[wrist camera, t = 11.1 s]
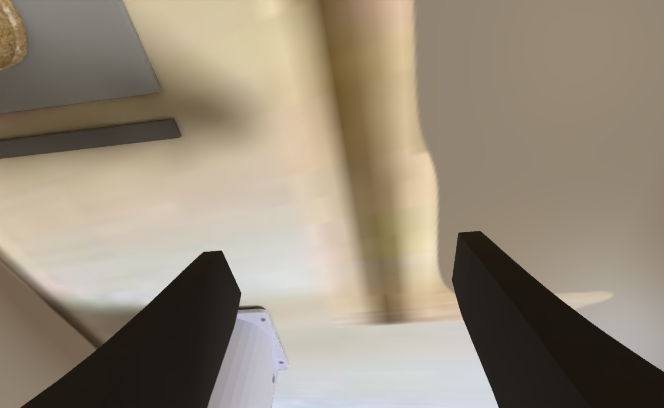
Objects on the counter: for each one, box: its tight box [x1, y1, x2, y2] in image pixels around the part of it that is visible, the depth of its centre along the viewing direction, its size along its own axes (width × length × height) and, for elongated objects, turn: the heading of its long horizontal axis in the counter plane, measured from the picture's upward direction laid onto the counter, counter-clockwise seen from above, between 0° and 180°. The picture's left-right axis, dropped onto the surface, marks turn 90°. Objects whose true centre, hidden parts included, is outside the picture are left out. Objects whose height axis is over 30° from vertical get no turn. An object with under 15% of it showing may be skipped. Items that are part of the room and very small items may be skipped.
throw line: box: [0, 119, 181, 159], centre depth 18 cm, size 1×14×1 cm, turn 97°
